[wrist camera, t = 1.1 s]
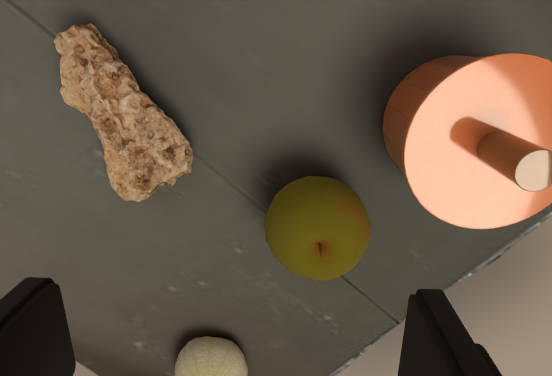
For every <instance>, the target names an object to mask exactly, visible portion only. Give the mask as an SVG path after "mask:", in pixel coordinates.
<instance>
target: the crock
mask: <svg viewBox="0 0 552 376" xmlns="http://www.w3.org/2000/svg"><path fill="white" fill-rule="evenodd" d="M478 58H481V57H472V56H461V55H449V56H445V57H441V58H437V59H434V60H431V61H429V62H426V63H424V64H423V65H421V66H419V67H417V68H416V69H415V70H413V71H412V72H411V73H409V74H408V75H407V76H406V77H405V78H404V79H403V80H402V81H401V82H400V83H399V84H398V86H397V87H396V89H395V90H394V91H393V93H392V95H391V97H390V99H389V101H388V103H387V106H386V109H385V113H384V117H383V130H382V131H383V138H384V143H385V146H386V149H387V153H388V154H389V156H390V157H391V158H392V160H393V161H394V162H395V164H396V165H397V166H398V168H399V169H400V170H401V171H402V173H403V174H404V170H403V163H402V147H403V140H404V136H405V132H406V128H407V125H408V123H409V121H410V118H411V116H412V114H413V112H414V111H415V109H416V107H417V105H418V104H419V102H420V101H421V100H422V98H423V97H424V96H425V94H426V93H427V92H428V91H429V90H430V89H431V88H432V87H433V86H434V85H435V84H436V83H437V82H438V81H439V80H441V79H442V78H443V77H444V76H445V75H447V74H448V73H450V72H451V71H453V70H454V69H456V68H458V67H460V66H462V65H464V64H466V63H468V62H470V61H473V60H475V59H478ZM404 175H405V174H404Z"/></svg>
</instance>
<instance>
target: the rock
mask: <svg viewBox="0 0 552 376" xmlns="http://www.w3.org/2000/svg"><path fill="white" fill-rule="evenodd" d="M54 43H55V46H56V50H57V51H58V52H59V53H60V54H61V55H62V56H61V59H60V76H61V83H62V85H63V86H62V87H61V88H60V93H61V95H62V97H63V99H64V101H65V103H67V104H69V105H71V106H72V107H73V108H76V109H77V110H79V111H80V112H81V113H83V114H87V115H88V117H89V118H90V119H91V120H92V125H93V127H94V129H95V131H96V133H97V135H98V136H99V138H100V140H101V142H102V146H103V149H104V156H103V157H104V159H105V162H106V163H107V167H106V169H107V174H108V177H109V180H110V183H111V186H112V188H113V189H114V190H115V191H116V192H117V194H118V195H119V196H120V197H121V198H122V199H124V200H125V201H129V200H133V201H142V200H144V199H147V198H148V197H150V196H151V195H152V194H153V193H154V192H155V191H156V190H157V188H158V187H159V185H161V186H164V185H167V184H168V185H170V186H172V185H173V184H174V183H175V182H176V179H177V178H178V177H180V176H182V175H184V174H187V173H190V172H191V169H192V161H193V158H194V157H193V150H192V148H191V147H190V143H189V142H188V141H187V139H186V138H185V137H184V136H183V135H182V134H181V132H180V130H179V128H178V127H177V126H176V124H175V123H174V122H173V120H172V119H170V118H168V117H167V116H166V115H165V114H164V111H163V110H161V109H160V108H159V107H158V106H157V105H156V104H155V103H153V102H152V101H151V100H150V99H149V97H148V95H147V94H144V93H142V92H141V91H140V89H139V86H138V84H137V82H136V79H135V78H134V76H133V75H132V73H131V71H130V70H129V68H128V66H127V65H125V64H123V62H122V60H120V59H119V56H118V53H117V51H116V49H115V48H114V47H112V46H111V45H109V44H108V43H107V41H106V39H105V38H102V36H101V34H100V32H99V30H98V29H97V28H96V27H95V26H94V25H93V24H91V23H90V24H86V25H81V26H75V25H73V26H72V27H70V28H69V29H68V30H67V31H64V32H61V33H58V34H57V36H56V37H55V40H54Z"/></svg>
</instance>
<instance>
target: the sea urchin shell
mask: <svg viewBox="0 0 552 376" xmlns="http://www.w3.org/2000/svg"><path fill="white" fill-rule="evenodd" d="M247 370H248V369H247V365H246V362H245V358H244V354H243V353H242V352H241V350H240V349H239V347H238V346H237V345H236V344H235V343H234V342H232V341H230V340H226V339H223V338H221V337H220V338H218V337H208V336H206V337H200V338H195V339H193V340H191V341H190V342H188V343H187V344H186V345H185V347H184V348H183V349H182V350H181V351H180V353H179V355H178V359H177V361H176V364H175V376H247Z"/></svg>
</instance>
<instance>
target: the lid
mask: <svg viewBox="0 0 552 376" xmlns="http://www.w3.org/2000/svg"><path fill="white" fill-rule="evenodd" d="M402 163H403V170H404V174H405V177H406V181H407V183H408V185H409V187H410V189H411V191H412V193H413V194H414V196H415V197H416V199H417V200H418V201H419V202H420V203H421V205H422V206H423V207H424V208H425V209H426V210H428V211H429V212H430V213H431V214H432V215H434V216H436V217H437V218H439V219H440V220H443V221H445V222H447V223H449V224H452V225H456V226H459V227H464V228H470V229H491V228H498V227H503V226H507V225H511V224H514V223H517V222H520V221H522V220H524V219H527V218H529V217H531V216H532V215H534V214H536V213H538V212H539V211H541V210H542V209H544V208H545V207H547V206H548V205H549V204H551V203H552V62H551V61H549V60H547V59H544V58H541V57H538V56H535V55H529V54H522V53H502V54H493V55H489V56H485V57H481V58H478V59H475V60H473V61H470V62H468V63H466V64H464V65H462V66H460V67H458V68H456V69H454V70H453V71H451V72H450V73H448V74H447V75H445V76H444V77H443V78H442V79H441V80H439V81H438V82H437V83H436V84H435V85H434V86H433V87H432V88H431V89H430V90H429V91H428V92H427V93H426V94H425V96H424V97H423V98H422V100H421V101H420V102H419V104H418V105H417V107H416V109H415V111H414V112H413V114H412V116H411V118H410V121H409V123H408V125H407V128H406V132H405V136H404V140H403V147H402Z"/></svg>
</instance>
